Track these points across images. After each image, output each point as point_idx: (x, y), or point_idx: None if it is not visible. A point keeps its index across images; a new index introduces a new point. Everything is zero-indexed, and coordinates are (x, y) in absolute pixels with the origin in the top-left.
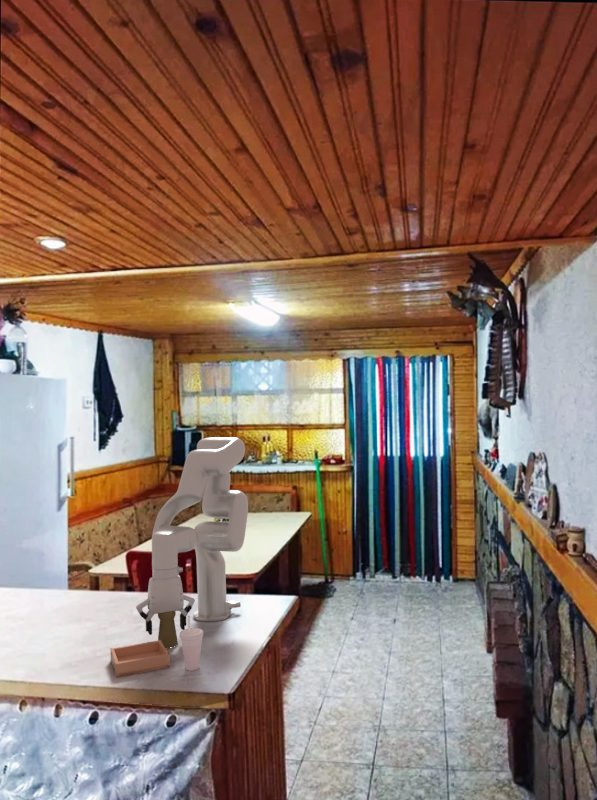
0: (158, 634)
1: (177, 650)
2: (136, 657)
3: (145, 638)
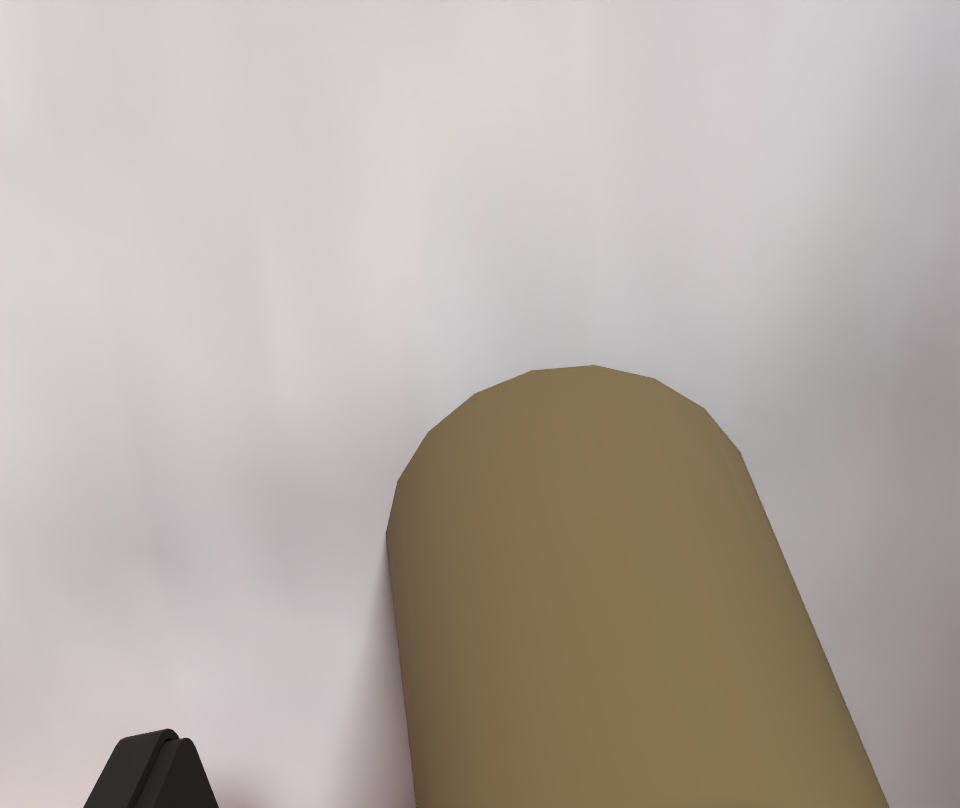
0: (399, 649)
1: None
2: None
3: (88, 70)
